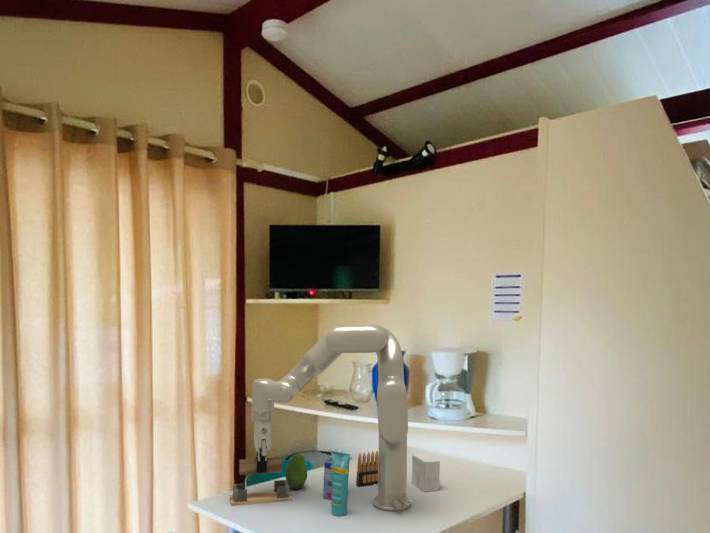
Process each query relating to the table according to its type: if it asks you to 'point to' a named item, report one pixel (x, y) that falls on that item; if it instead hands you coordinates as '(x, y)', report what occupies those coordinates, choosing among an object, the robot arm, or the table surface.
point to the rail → (260, 494)
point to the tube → (340, 482)
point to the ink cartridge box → (328, 479)
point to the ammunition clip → (367, 470)
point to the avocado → (296, 472)
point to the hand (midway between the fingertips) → (260, 469)
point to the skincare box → (425, 472)
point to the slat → (251, 466)
